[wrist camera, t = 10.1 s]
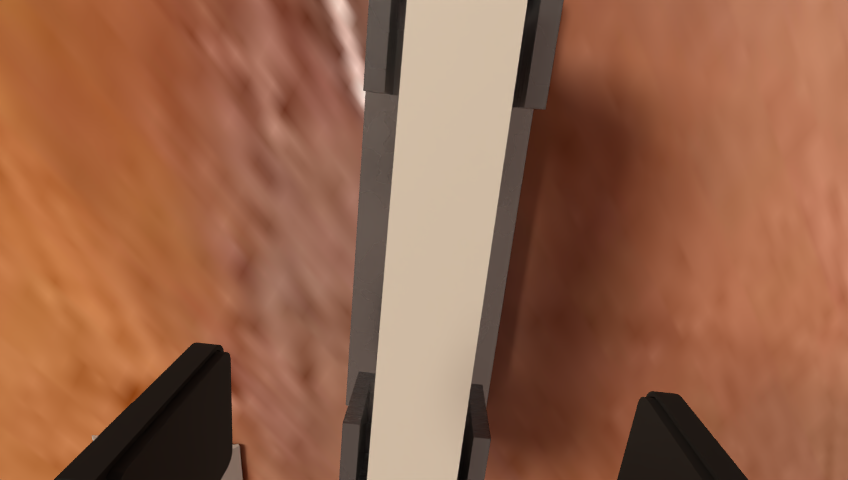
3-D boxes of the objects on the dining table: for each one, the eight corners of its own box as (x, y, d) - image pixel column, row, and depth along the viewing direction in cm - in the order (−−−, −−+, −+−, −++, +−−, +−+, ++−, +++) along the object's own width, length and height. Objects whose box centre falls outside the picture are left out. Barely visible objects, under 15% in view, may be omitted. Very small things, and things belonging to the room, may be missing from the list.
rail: (415, 9, 20) (408, -21, 16) (507, 19, 20) (529, -9, 16) (378, 436, 26) (364, 510, 22) (448, 444, 26) (451, 519, 22)
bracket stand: (376, -23, 27) (332, -111, 16) (547, -5, 27) (621, -82, 16) (348, 395, 35) (306, 528, 24) (482, 409, 35) (502, 550, 24)
